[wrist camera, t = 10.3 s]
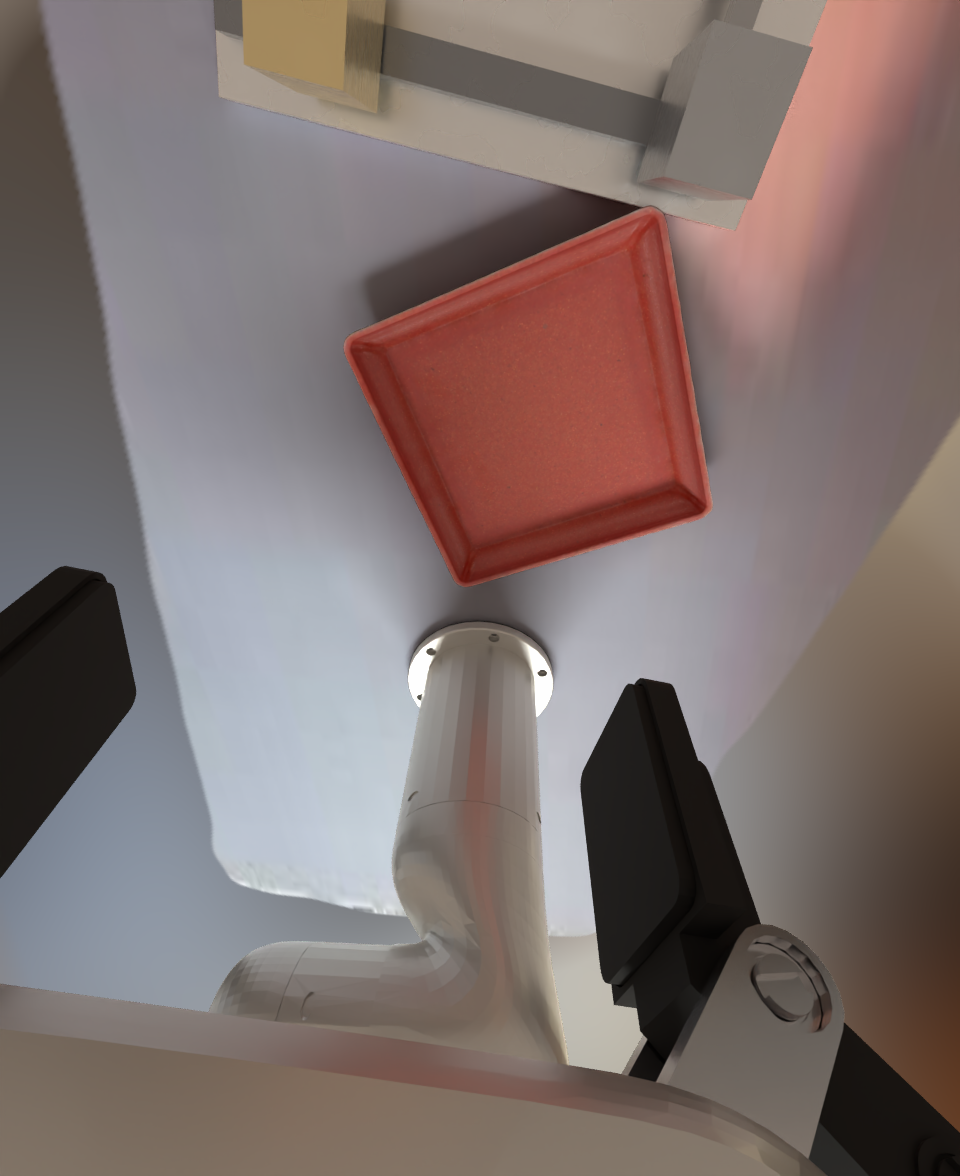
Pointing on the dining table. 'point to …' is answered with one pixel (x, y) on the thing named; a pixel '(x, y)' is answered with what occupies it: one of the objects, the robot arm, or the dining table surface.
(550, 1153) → the robot arm
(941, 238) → the dining table surface
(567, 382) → the plant saucer
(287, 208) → the dining table surface
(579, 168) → the hole plate
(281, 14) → the tan stemmed block
